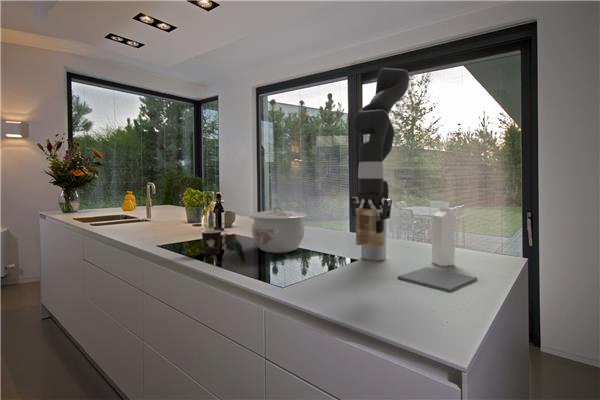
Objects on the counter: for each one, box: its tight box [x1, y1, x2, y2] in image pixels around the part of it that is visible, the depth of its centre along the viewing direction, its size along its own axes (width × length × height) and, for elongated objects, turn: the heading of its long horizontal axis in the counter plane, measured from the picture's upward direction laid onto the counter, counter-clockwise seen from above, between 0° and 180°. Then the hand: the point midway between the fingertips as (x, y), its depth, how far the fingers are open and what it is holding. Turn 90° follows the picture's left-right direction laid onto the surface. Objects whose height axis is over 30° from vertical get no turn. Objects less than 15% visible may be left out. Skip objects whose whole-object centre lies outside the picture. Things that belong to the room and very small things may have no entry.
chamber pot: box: [248, 206, 309, 254], centre depth 162 cm, size 28×28×21 cm
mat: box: [397, 266, 478, 293], centre depth 115 cm, size 18×18×1 cm
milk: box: [431, 206, 457, 267], centre depth 135 cm, size 6×6×22 cm
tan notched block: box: [355, 208, 384, 248], centre depth 107 cm, size 6×6×11 cm
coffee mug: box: [201, 229, 231, 256], centre depth 156 cm, size 12×9×10 cm
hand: (370, 231), depth 107 cm, fingers closed on tan notched block, 6 cm apart
